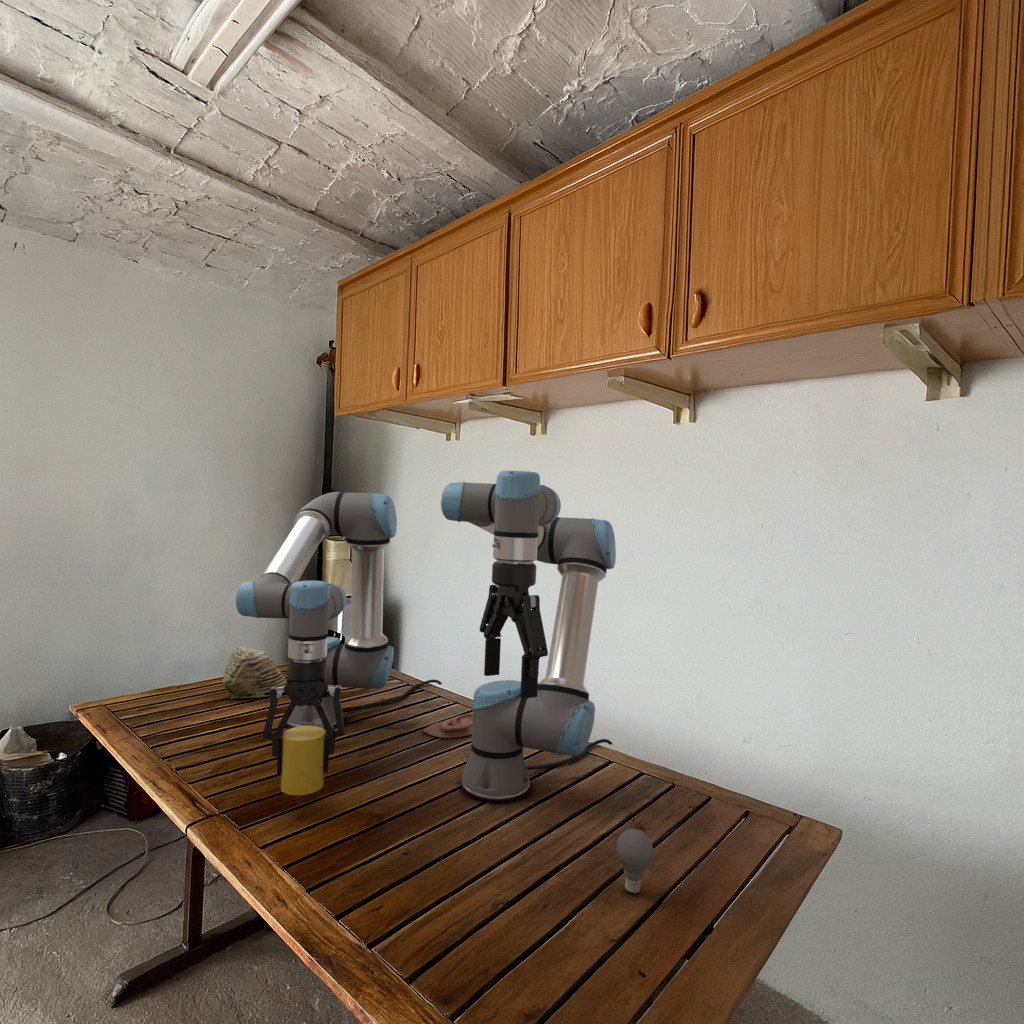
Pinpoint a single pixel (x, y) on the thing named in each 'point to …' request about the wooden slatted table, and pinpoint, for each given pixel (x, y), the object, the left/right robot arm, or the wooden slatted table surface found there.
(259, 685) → the fossil
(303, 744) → the canister
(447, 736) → the anatomical model
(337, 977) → the wooden slatted table surface
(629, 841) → the light bulb
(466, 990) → the wooden slatted table surface
